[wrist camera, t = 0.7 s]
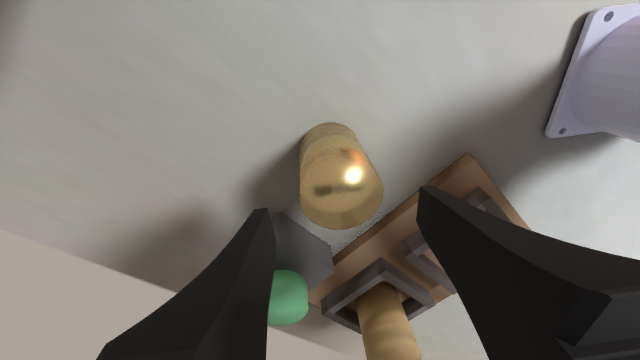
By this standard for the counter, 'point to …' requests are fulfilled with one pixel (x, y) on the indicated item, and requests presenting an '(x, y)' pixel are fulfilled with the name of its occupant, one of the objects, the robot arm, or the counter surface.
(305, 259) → the button box
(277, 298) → the button
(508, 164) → the counter surface
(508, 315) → the robot arm
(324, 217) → the cylinder
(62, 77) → the counter surface
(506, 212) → the wooden fixture board
